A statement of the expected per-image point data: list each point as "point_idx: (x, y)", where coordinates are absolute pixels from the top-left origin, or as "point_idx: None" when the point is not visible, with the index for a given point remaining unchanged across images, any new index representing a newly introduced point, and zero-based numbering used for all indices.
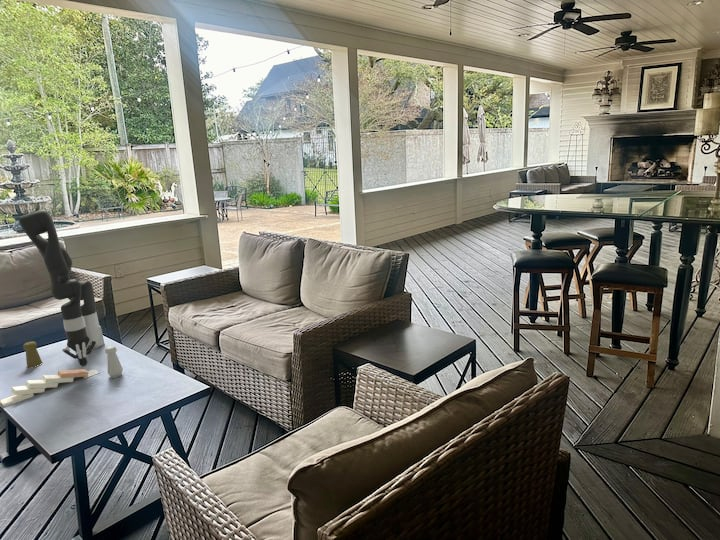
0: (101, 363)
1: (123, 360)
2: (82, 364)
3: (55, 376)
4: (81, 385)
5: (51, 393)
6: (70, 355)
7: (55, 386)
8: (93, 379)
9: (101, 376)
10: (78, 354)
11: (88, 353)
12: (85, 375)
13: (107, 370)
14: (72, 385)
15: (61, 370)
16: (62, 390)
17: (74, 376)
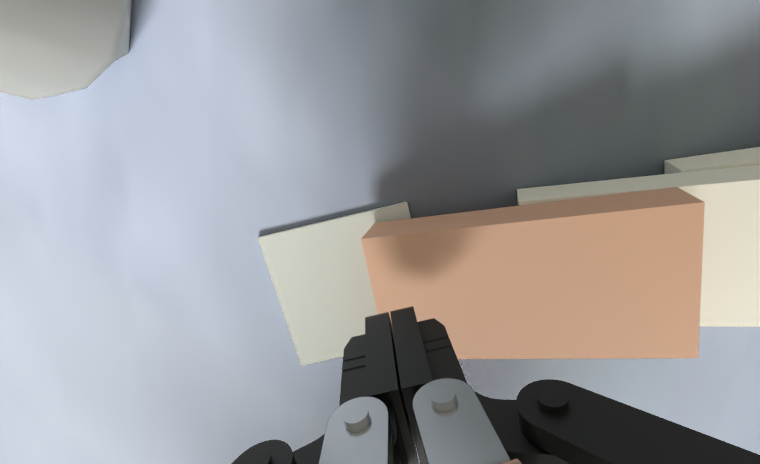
0: None
1: (30, 403)
2: (413, 318)
3: (725, 261)
4: (459, 16)
5: (748, 31)
6: (722, 456)
7: (690, 158)
8: (326, 102)
9: (241, 127)
10: (493, 462)
11: (268, 459)
12: (394, 223)
13: (99, 5)
14: (537, 97)
15: (654, 351)
16: (646, 28)
17: (511, 208)
